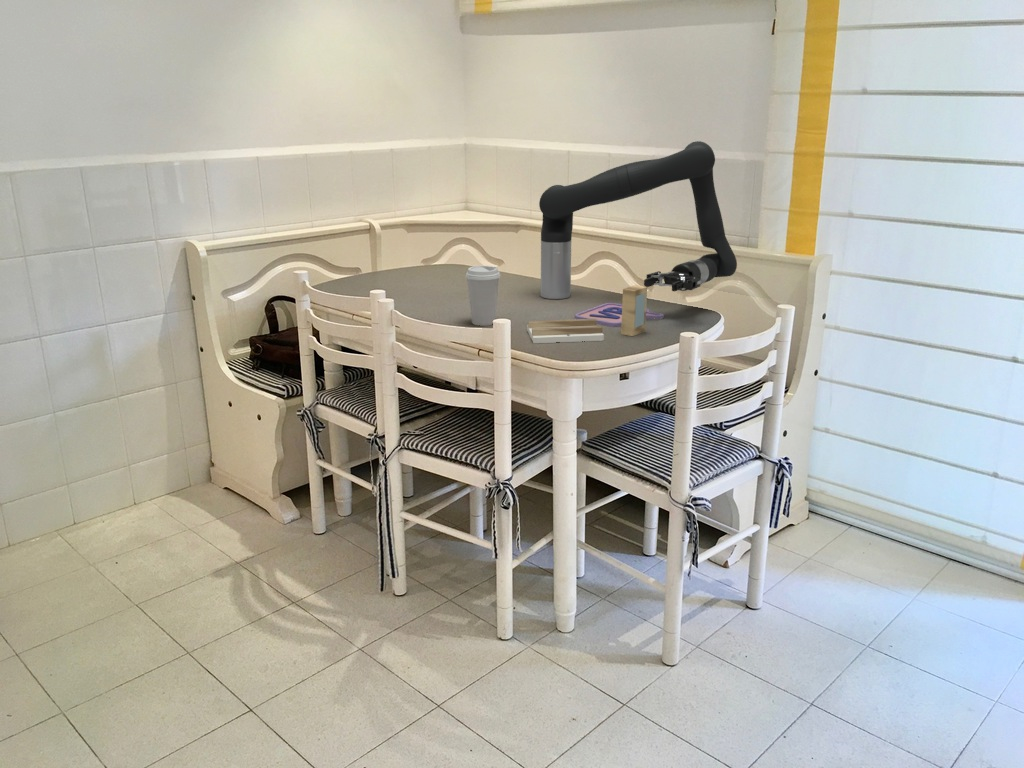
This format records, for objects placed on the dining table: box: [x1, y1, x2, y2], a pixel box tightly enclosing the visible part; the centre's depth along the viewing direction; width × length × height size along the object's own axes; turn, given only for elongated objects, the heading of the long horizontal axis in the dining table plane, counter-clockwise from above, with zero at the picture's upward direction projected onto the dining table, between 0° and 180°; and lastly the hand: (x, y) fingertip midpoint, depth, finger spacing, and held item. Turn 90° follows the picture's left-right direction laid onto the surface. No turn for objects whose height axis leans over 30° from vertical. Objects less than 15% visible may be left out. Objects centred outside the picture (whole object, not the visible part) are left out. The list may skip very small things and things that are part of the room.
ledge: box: [526, 318, 605, 344], centre depth 214 cm, size 12×18×3 cm, turn 97°
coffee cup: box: [464, 265, 502, 327], centre depth 224 cm, size 10×10×15 cm
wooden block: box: [620, 284, 648, 337], centre depth 214 cm, size 6×4×12 cm, turn 139°
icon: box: [574, 302, 665, 328], centre depth 231 cm, size 19×2×20 cm
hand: (659, 285), depth 221 cm, fingers open, 8 cm apart
